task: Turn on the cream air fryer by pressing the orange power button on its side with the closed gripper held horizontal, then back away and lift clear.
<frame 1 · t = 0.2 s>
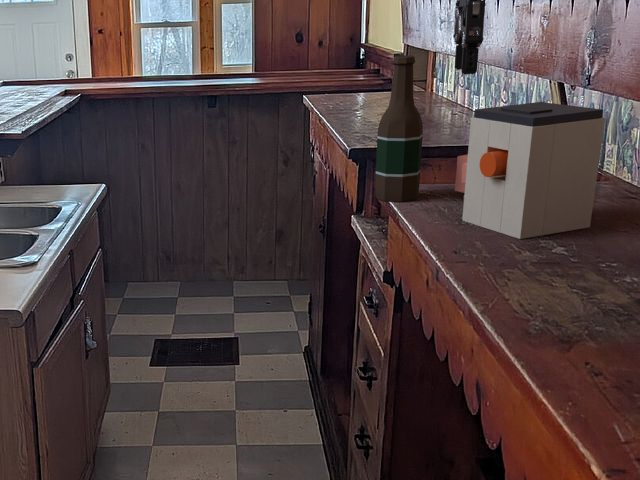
hand: (465, 71, 136), 22 cm above the worktop, tool pointing down, fingers open, 8 cm apart
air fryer: (524, 223, 134), on the worktop
beer bottle: (396, 198, 154), on the worktop
power button: (498, 163, 128), point 10 cm above the worktop, slide at -0.1 cm
pink cube teapot: (487, 198, 151), on the worktop
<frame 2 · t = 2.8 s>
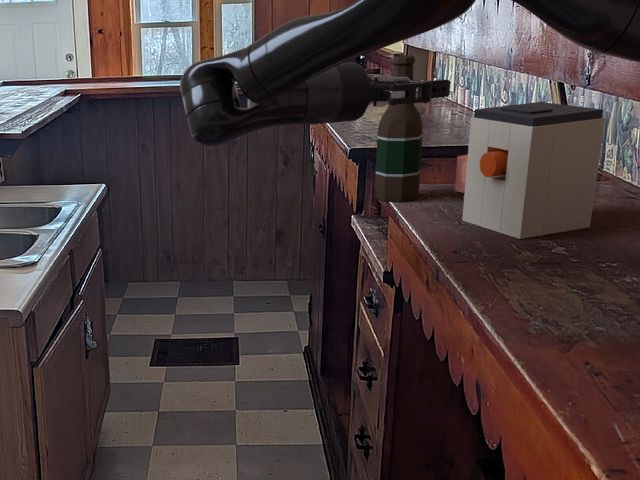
hand: (429, 85, 119), 22 cm above the worktop, tool horizontal, fingers open, 8 cm apart
nothing on the worktop moved.
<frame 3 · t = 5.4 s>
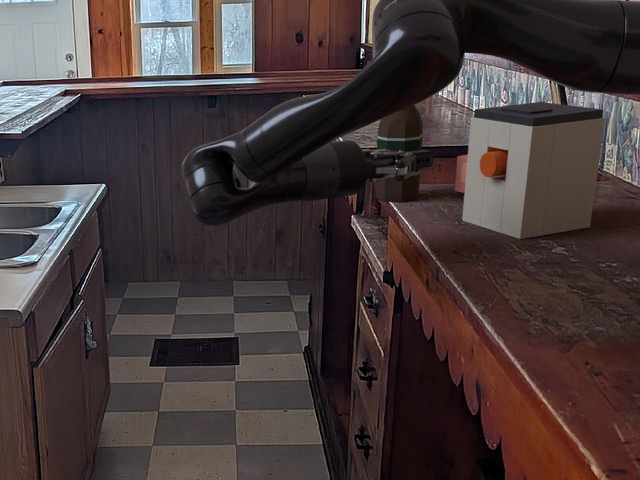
hand: (429, 157, 123), 12 cm above the worktop, tool horizontal, fingers closed
nothing on the worktop moved.
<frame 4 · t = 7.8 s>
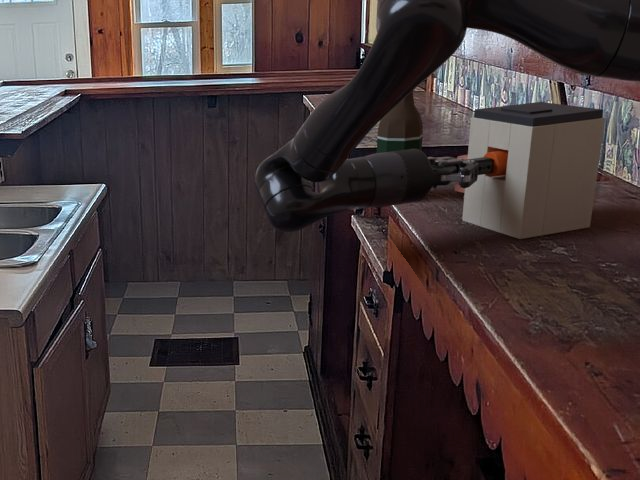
hand: (489, 164, 127), 10 cm above the worktop, tool horizontal, fingers closed
power button: (500, 163, 128), point 10 cm above the worktop, slide at 0.4 cm, touching gripper
everything else where it was.
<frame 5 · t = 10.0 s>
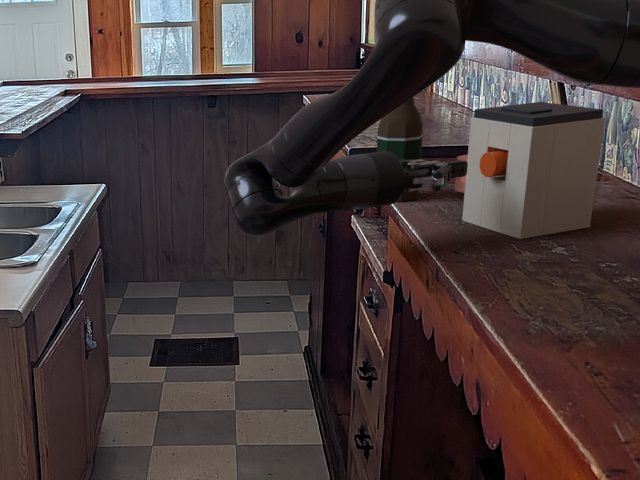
hand: (463, 167, 126), 10 cm above the worktop, tool horizontal, fingers closed
power button: (498, 163, 128), point 10 cm above the worktop, slide at -0.1 cm
everything else where it was.
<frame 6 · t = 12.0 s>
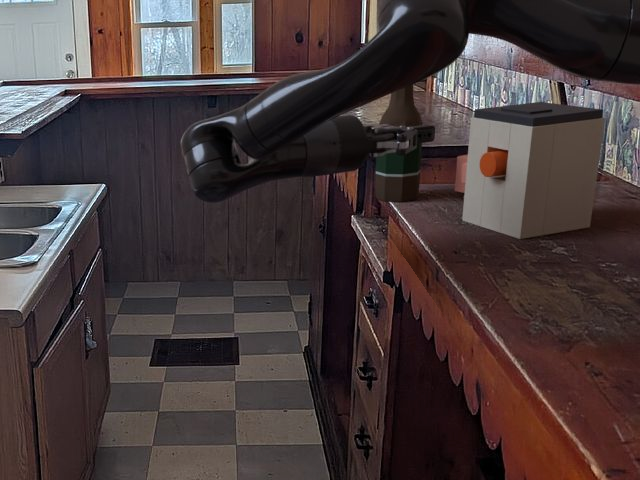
hand: (431, 132, 122), 16 cm above the worktop, tool horizontal, fingers closed
nothing on the worktop moved.
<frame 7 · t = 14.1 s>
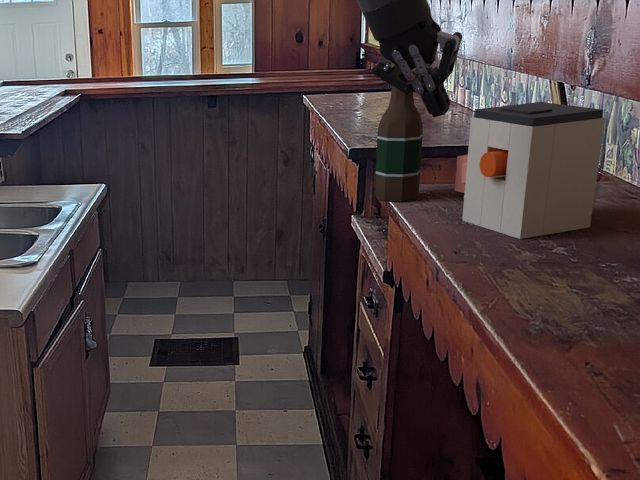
hand: (441, 113, 115), 19 cm above the worktop, tool tilted 30°, fingers closed
nothing on the worktop moved.
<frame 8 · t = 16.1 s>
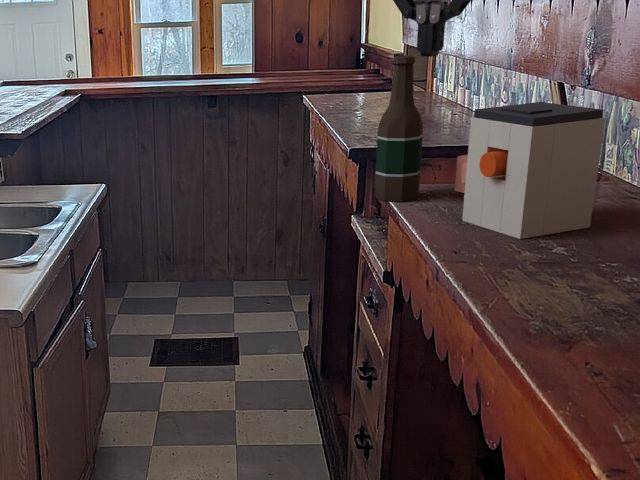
hand: (429, 55, 107), 27 cm above the worktop, tool pointing down, fingers closed
nothing on the worktop moved.
at the end: power button pulled out 1.2 cm at the most during the clip, back to where it started at the end; power button slide at -0.1 cm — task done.
